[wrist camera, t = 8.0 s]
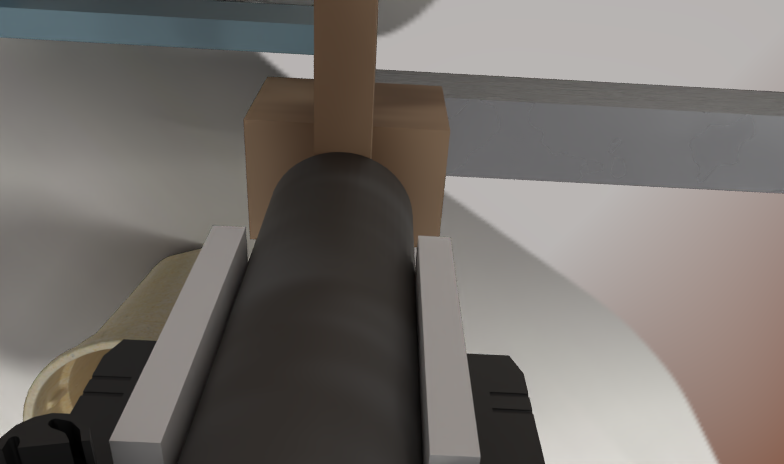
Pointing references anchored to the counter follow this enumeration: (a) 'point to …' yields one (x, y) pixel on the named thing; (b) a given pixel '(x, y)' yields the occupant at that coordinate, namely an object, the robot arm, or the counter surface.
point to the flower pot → (110, 337)
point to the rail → (609, 132)
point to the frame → (164, 23)
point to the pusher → (329, 263)
